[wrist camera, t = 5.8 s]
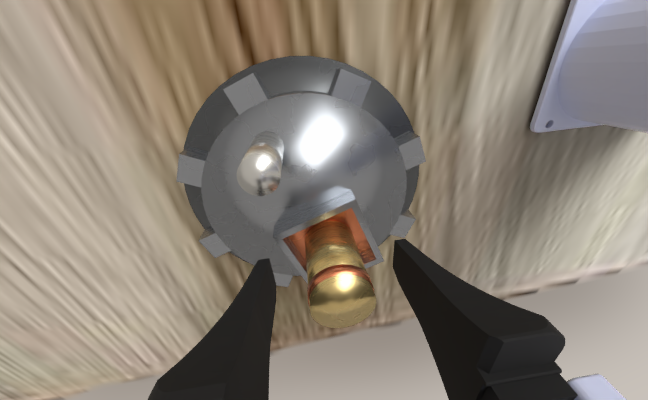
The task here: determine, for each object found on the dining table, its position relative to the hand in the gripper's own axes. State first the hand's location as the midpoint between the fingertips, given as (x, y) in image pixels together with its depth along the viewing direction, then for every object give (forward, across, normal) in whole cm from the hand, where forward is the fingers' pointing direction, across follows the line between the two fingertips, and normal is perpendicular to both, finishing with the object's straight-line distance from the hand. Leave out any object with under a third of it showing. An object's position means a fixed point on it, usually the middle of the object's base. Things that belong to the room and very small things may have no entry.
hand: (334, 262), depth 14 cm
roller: (+2, 0, 0) cm, 2 cm away
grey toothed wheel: (+4, +1, -3) cm, 5 cm away
